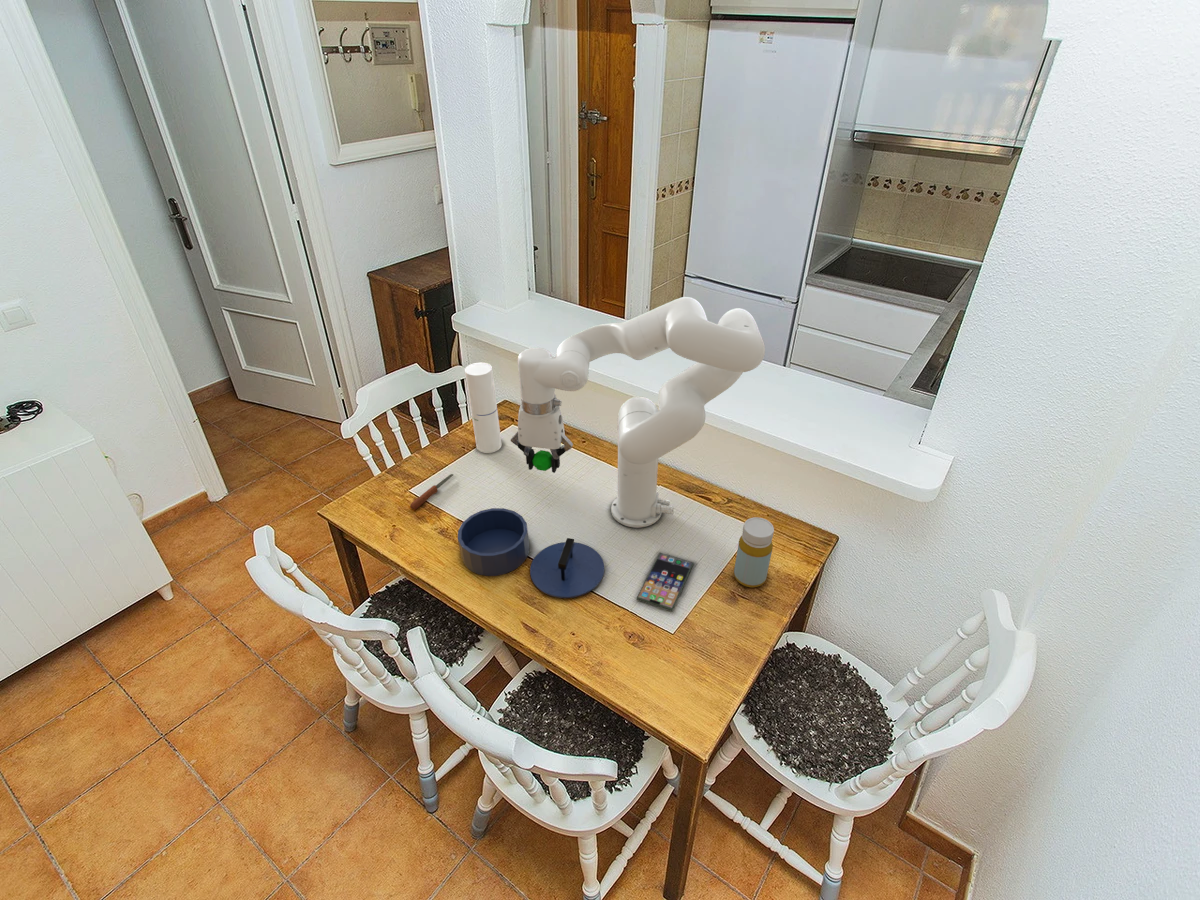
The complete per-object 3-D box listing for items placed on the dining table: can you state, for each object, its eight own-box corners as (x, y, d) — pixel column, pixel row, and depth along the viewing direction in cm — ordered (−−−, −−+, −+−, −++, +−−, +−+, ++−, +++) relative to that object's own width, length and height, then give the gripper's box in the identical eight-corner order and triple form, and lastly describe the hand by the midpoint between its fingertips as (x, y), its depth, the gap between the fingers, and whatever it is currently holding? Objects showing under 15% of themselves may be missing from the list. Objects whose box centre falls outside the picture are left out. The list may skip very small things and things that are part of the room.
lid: (610, 550, 147) (610, 530, 143) (596, 605, 134) (595, 584, 130) (542, 540, 150) (540, 520, 146) (520, 593, 137) (518, 573, 133)
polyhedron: (558, 470, 150) (557, 453, 147) (540, 477, 148) (538, 461, 145) (547, 459, 154) (545, 443, 151) (529, 467, 151) (527, 450, 149)
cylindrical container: (496, 454, 178) (486, 376, 164) (472, 451, 179) (460, 374, 165) (505, 440, 184) (495, 363, 169) (481, 437, 185) (470, 361, 170)
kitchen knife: (414, 511, 159) (413, 505, 158) (410, 510, 159) (408, 504, 158) (456, 477, 170) (454, 472, 169) (452, 476, 170) (451, 470, 169)
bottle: (759, 593, 136) (769, 543, 127) (728, 581, 139) (736, 531, 130) (770, 573, 141) (780, 523, 132) (740, 561, 144) (749, 511, 135)
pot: (537, 532, 152) (535, 512, 148) (517, 581, 140) (514, 560, 136) (476, 524, 155) (472, 504, 151) (451, 571, 142) (446, 550, 139)
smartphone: (693, 564, 143) (693, 560, 142) (672, 612, 132) (672, 609, 131) (659, 554, 146) (660, 550, 145) (636, 601, 135) (636, 597, 134)
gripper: (579, 397, 141) (581, 462, 152) (507, 390, 144) (514, 454, 155) (571, 415, 136) (574, 481, 146) (496, 407, 138) (504, 473, 149)
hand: (543, 467), depth 150 cm, fingers closed on polyhedron, 5 cm apart
